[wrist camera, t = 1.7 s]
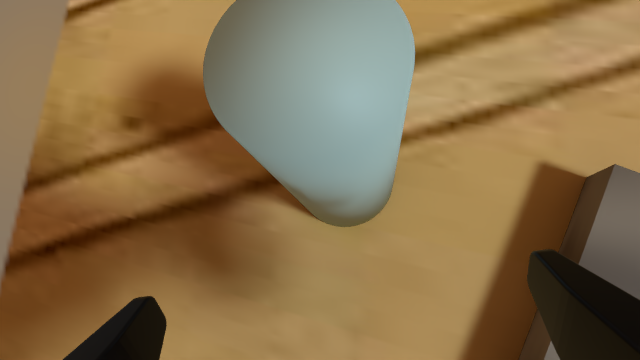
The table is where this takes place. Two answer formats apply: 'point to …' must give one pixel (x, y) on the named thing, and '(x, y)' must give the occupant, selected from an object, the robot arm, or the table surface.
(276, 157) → the sage wooden pillar
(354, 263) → the table surface
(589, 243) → the grey square slab
